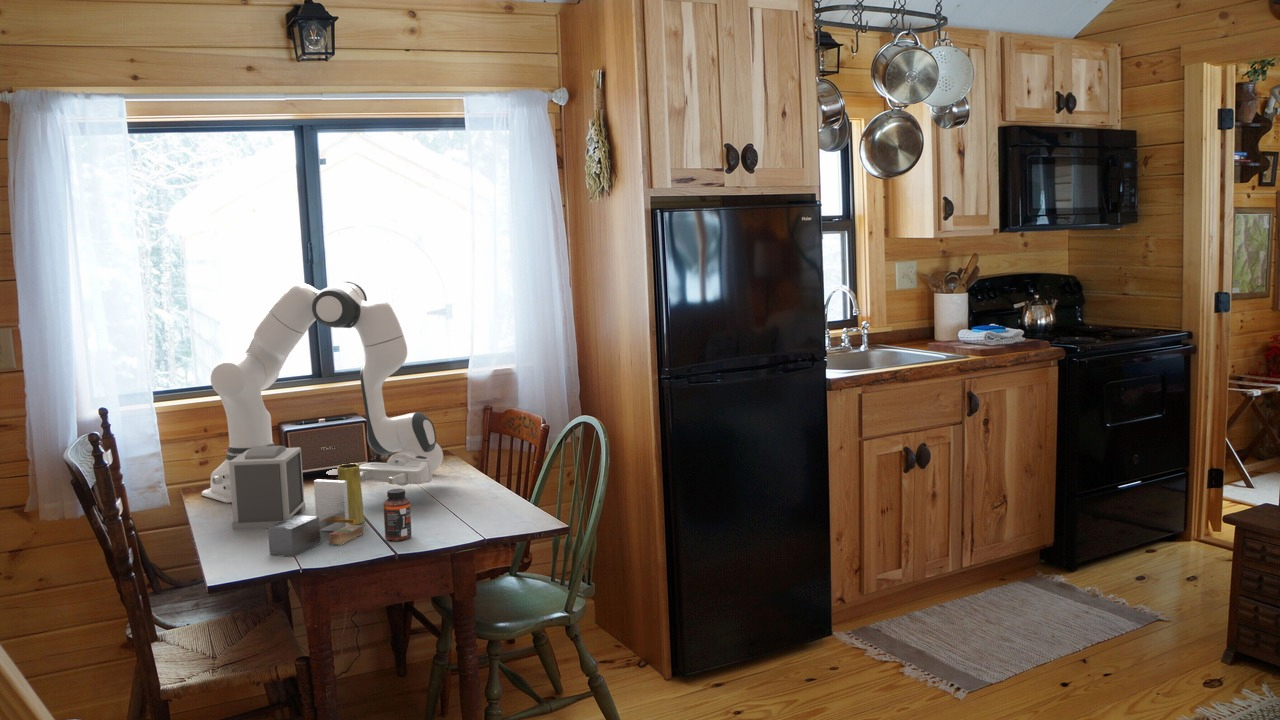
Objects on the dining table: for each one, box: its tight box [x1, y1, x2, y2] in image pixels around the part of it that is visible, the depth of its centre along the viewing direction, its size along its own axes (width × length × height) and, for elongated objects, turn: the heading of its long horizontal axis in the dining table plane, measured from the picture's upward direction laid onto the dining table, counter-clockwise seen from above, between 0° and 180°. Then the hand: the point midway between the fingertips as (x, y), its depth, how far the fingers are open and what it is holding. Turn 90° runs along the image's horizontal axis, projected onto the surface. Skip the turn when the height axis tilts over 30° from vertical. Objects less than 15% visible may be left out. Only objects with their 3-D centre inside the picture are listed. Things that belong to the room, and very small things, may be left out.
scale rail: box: [328, 524, 364, 546], centre depth 232 cm, size 3×9×2 cm, turn 162°
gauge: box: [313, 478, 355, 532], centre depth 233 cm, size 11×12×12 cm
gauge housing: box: [267, 514, 321, 557], centre depth 225 cm, size 6×10×6 cm, turn 162°
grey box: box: [229, 445, 306, 531], centre depth 251 cm, size 18×13×18 cm
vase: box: [337, 463, 365, 525], centre depth 245 cm, size 6×6×14 cm
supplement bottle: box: [383, 488, 412, 542], centre depth 231 cm, size 6×6×11 cm
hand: (374, 480), depth 256 cm, fingers open, 8 cm apart
